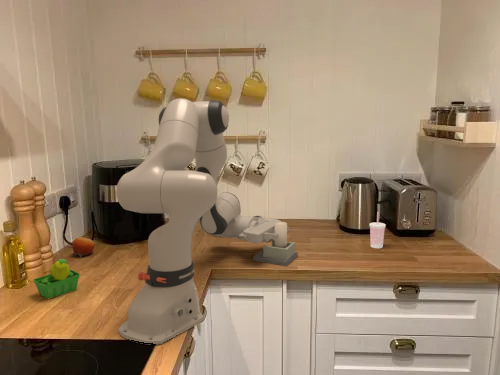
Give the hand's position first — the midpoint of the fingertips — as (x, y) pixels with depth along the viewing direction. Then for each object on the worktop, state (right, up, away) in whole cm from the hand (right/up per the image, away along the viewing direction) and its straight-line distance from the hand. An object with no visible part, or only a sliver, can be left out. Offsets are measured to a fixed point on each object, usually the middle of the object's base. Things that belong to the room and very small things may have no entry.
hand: (283, 233), depth 152 cm
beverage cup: (+38, -7, +15) cm, 41 cm away
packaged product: (-5, -5, +32) cm, 33 cm away
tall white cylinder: (-1, -8, +2) cm, 9 cm away
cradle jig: (-2, -10, +3) cm, 10 cm away
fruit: (-76, -10, +11) cm, 77 cm away
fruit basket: (-70, -16, -23) cm, 75 cm away
